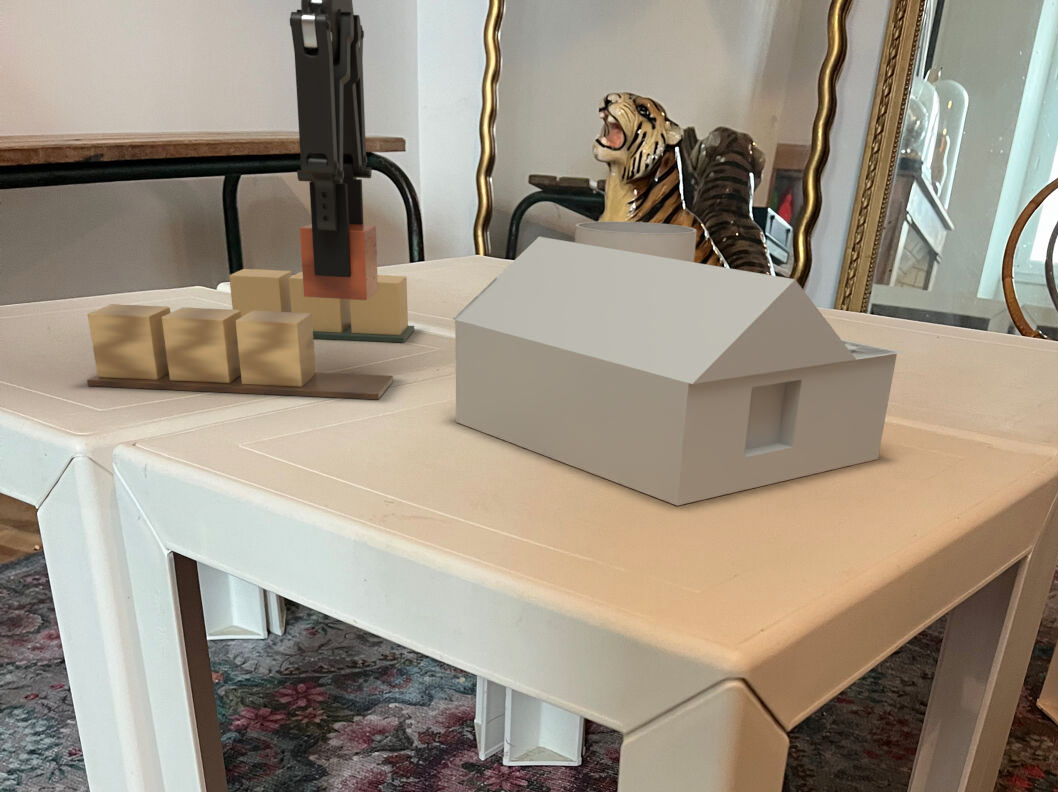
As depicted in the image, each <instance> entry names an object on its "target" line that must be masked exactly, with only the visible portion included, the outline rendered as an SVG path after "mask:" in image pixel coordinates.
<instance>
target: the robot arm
mask: <svg viewBox="0 0 1058 792" xmlns="http://www.w3.org/2000/svg"><path fill="white" fill-rule="evenodd" d="M289 26H290V30H291V36H292V37H291V38H292V45H293V51H294V68H295V84H296V85H295V86H296V87H295V88H296V103H297V105H296V106H297V120H298V121H297V123H298V137H299V139H298V140H299V155H300V160H299V166H300V170H299V169H297V170H296V175H297V180H298V181H299V182H308V183H309V184H308V185H309V197H310V198H309V200H310V219H311V223H312V237H313V254H314V272H315V275H317V276H334V277H351V264H350V240H349V224H359V225H364V202H363V201H364V200H363V179H371V178H372V174H373V173H372V167H368V166H367V163H368V156H367V147H366V121H365V119H366V118H365V117H366V116H365V115H366V114H365V93H364V92H365V89H364V87H365V86H364V70H363V69H364V66H363V65H364V64H363V62H364V61H363V60H364V59H363V56H364V55H363V54H364V38H365V31H364V30H363V25H362V24H361V18H360V14H355V12H354V5H353V0H300V9H296V11H291V12H290V18H289ZM366 166H367V167H366ZM358 178H359V179H358Z"/></svg>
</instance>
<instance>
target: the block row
mask: <svg viewBox="0 0 1058 792" xmlns="http://www.w3.org/2000/svg"><path fill="white" fill-rule="evenodd" d="M228 277H229V287H230V297H231V298H230V299H231V307H232V310H240V311H241V317H243V316H244V315H246V314H248V313H250V312H251V311H273V312H295V313H311V314H312V328H313V339H315V340H316V339H318V340H319V339H320V340H336V341H337V340H338V341H339V340H341V341H358V342H359V341H361V342H381V343H383V342H385V343H401V344H402V343H403V344H404V343H405V342H406V341H407V339H408V338H409V337H410V336H411V335H412V334H413V333H414V332H415V325H409V312H408V309H409V308H408V281H407V278H408V277H407V275H390V274H389V275H388V274H386V275H385V274H377V279H378V291H377V292H376V293H375V294H373V295H372V296H371V297H370V298H368V299H367V300H353V299H336V298H319V297H305V296H304V288H303V272H302V271H300V272H297V273H295V274H293V275H292V270H280V269H279V270H277V269H276V270H275V269H256V268H255V269H254V268H243V269H240V270H238V271H236V272H234V273H231V274H229V275H228Z"/></svg>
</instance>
